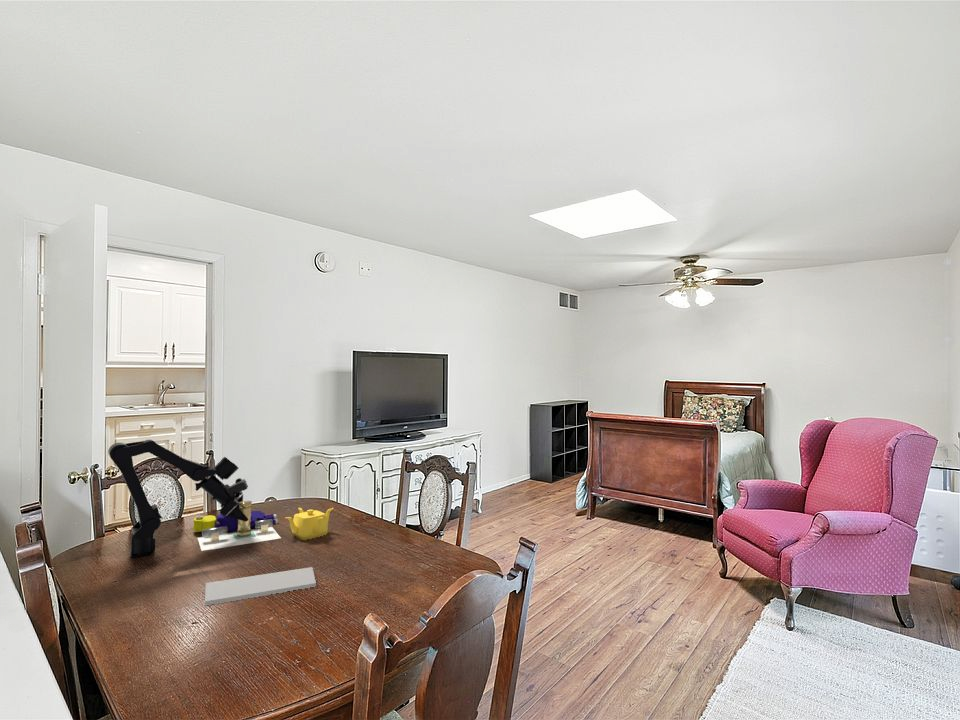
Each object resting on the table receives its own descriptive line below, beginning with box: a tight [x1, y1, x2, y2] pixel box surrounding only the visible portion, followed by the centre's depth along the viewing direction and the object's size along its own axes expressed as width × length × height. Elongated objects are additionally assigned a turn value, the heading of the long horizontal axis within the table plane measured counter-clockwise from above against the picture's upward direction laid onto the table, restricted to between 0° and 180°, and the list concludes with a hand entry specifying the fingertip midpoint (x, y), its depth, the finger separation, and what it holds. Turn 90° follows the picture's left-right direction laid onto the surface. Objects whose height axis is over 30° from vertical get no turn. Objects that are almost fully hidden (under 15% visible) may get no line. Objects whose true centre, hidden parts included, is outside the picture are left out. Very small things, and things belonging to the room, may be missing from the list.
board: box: [197, 526, 282, 552], centre depth 188 cm, size 26×16×1 cm, turn 123°
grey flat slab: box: [204, 566, 317, 607], centre depth 149 cm, size 29×12×4 cm, turn 117°
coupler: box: [236, 500, 253, 537], centre depth 192 cm, size 5×5×12 cm
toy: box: [192, 510, 279, 533], centre depth 201 cm, size 12×7×30 cm
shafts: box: [201, 519, 274, 542], centre depth 191 cm, size 24×6×4 cm, turn 123°
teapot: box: [284, 507, 334, 541], centre depth 197 cm, size 15×14×10 cm
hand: (248, 517), depth 192 cm, fingers open, 9 cm apart
